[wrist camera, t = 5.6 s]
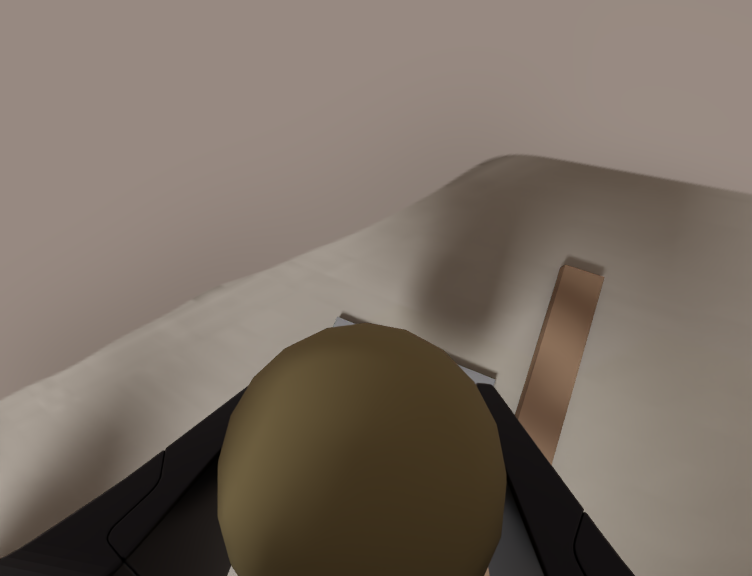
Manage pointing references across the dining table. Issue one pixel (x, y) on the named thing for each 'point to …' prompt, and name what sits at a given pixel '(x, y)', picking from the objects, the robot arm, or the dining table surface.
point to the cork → (361, 462)
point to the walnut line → (558, 357)
